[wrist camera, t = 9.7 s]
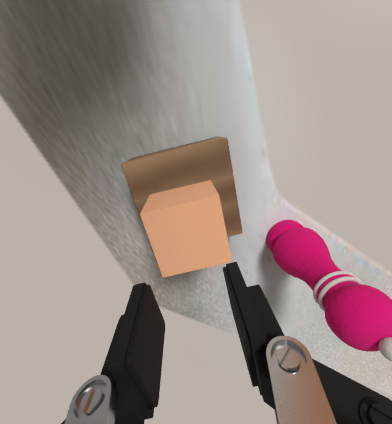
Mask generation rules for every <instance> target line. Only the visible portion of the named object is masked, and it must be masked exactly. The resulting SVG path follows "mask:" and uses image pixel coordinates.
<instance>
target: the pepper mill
mask: <svg viewBox="0 0 392 424" xmlns="http://www.w3.org/2000/svg"><path fill="white" fill-rule="evenodd" d="M267 244H268V246H269V248H270V249H271V251H272V252H273V256H274V259H275V261H276V263H277V264H278V265H279V266H280V267H281V268H282V269H283V270H284V271H285V272H287V273H288V274H290V275H292V276H294V277H297V278H299V279H301V280H303V281H304V282H306V283H307V284H308V285H309V286H310V287H311V289H312V290H313V297H314V299H315V301H316V302H317V303H318V304H319V306H320V308H321V309H322V310H323V311H325V318H326V321H327V324H328V325H329V327H330V329H331V330H332V331H333V332H334V334H335V335H336V336H337V337H338V338H339V339H340V340H342V341H343V342H344V343H346V344H347V345H349V346H351V347H353V348H355V349H359V350H362V351H379V350H380V352H381V353H382V355H383V356H384V357H385V358H387V359H388V360H390V361H392V300H391V299H390V298H389V297H388V296H387V295H386V294H384V293H383V292H381V291H380V290H378V289H376V288H373V287H371V286H367V285H364V284H363V282H362V281H361V280H359V279H358V278H356V276H355V275H354V274H352V273H350V272H347V271H342V270H340V269H339V268H338V267H337V266H336V265H335V264H334V262H333V261H332V259H331V256H330V253H329V250H328V247H327V245H326V244H325V242H324V240H323V239H322V238H321V237H320V236H319V235H318V234H317V233H316V232H315V231H313V230H311V229H309V228H304V227H303V226H302V225H301V224H299V223H298V222H296V221H293V220H284V221H281V222H278V223H277V224H275V225H274V226H273V227H272V228H271V229H270V231H269V232H268V235H267Z"/></svg>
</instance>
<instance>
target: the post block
mask: <svg viewBox="0 0 392 424" xmlns="http://www.w3.org/2000/svg"><path fill="white" fill-rule="evenodd" d="M121 166H122V168H123V171H124V174H125V177H126V179H127V182H128V185H129V187H130V190H131V193H132V196H133V198H134V201H135V204H136V207H137V209H138V212H139V215H140V213H141V211H142V209H143V207H144V205H145V203H146V201H147V199H148V197H149V195H150V194H154V193H158V192H163V191H167V190H171V189H175V188H179V187H183V186H187V185H192V184H196V183H200V182H204V181H208V180H211V182H212V183H213V185H214V187H215V189H216V190H217V192H218V194H219V197H220V202H221V207H222V212H223V217H224V222H225V227H226V232H227V237H228V236H233V235H237V234H241V233H242V226H241V220H240V214H239V208H238V202H237V196H236V189H235V183H234V177H233V171H232V165H231V159H230V152H229V146H228V140H227V138H224V137H214V138H210V139H206V140H202V141H198V142H194V143H190V144H186V145H182V146H178V147H174V148H170V149H166V150H162V151H158V152H154V153H150V154H146V155H142V156H138V157H133V158H132V159H130V160H128V161H126V162H124V163H122V164H121ZM140 218H141V216H140ZM141 220H142V219H141ZM142 223H143V221H142ZM143 226H144V224H143ZM144 229H145V227H144ZM145 231H146V230H145ZM146 234H147V232H146ZM147 237H148V235H147ZM148 239H149V238H148ZM149 242H150V241H149ZM150 245H151V243H150ZM151 248H152V246H151ZM152 250H153V249H152ZM153 253H154V252H153Z"/></svg>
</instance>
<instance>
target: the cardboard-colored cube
mask: <svg viewBox="0 0 392 424" xmlns="http://www.w3.org/2000/svg"><path fill="white" fill-rule="evenodd" d="M140 216H141V219H142V221H143V224H144V227H145V230H146V232H147V235H148V238H149V241H150V243H151V246H152V249H153V252H154V255H155V257H156V260H157V263H158V266H159V268H160V271H161V274H162V277H163V278H164V277H168V276H173V275H177V274H181V273H186V272H190V271H195V270H199V269H203V268H208V267H212V266H217V265H221V264H225V263H230V262H232V258H231V253H230V248H229V243H228V238H227V232H226V227H225V222H224V217H223V212H222V207H221V202H220V197H219V194H218V192H217V190H216V189H215V187H214V185H213V183H212V182H211V180H208V181H204V182H200V183H196V184H192V185H187V186H183V187H179V188H175V189H171V190H167V191H163V192H158V193H154V194H150V195H149V197H148V199H147V201H146V203H145V205H144V207H143V209H142V211H141V213H140Z"/></svg>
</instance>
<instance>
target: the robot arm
mask: <svg viewBox="0 0 392 424" xmlns="http://www.w3.org/2000/svg"><path fill="white" fill-rule="evenodd" d="M223 272H224V276H225V281H226V285H227V290H228V294H229V299H230V304H231V308H232V312H233V316H234V319H235V323H236V327H237V330H238V334H239V338H240V341H241V345H242V349H243V352H244V355H245V360H246V363H247V367H248V371H249V374H250V378H251V381H252V385H253V387H254V386H258V387H259V391H260V394H261V395H262V396H263V400H264V402H265V403H267V404H268V405H269V406H271V407H272V408H273V409H275V415H276V420H277V424H392V401H391V400H390V399H388V398H386V397H384V396H382V395H380V394H379V393H377V392H375V391H373V390H371V389H369V388H367V387H365V386H363V385H361V384H359V383H358V382H356V381H354V380H352V379H350V378H348V377H346V376H344V375H342V374H340V373H338V372H337V371H335V370H333V369H331V368H329V367H327V366H325V365H323V364H321V363H319V362H317V361H316V360H314V359H312V358H311V355H310V353H309V351H308V350H307V348H306V347H305V346H304V345H303V344H302V343H301V342H300V341H298V340H297V339H295V338H292V337H289V336H284V334H283V332H282V330H281V328H280V326H279V324H278V322H277V320H276V318H275V316H274V314H273V312H272V310H271V308H270V306H269V304H268V302H267V299H266V297H265V295H264V293H263V291H262V289H261V287H260V286H259V285H255V286H250V287H246V284H245V282H244V279H243V277H242V274H241V272H240V269H239V267H238V264H237V262H233V263H229V264H226V267H224V268H223ZM164 334H165V322H164V319H163V316H162V314H161V311H160V309H159V306H158V304H157V301H156V299H155V296H154V294H153V291H152V289H151V287H150V285H146V283H141V284H137V285H134V286H133V289H132V292H131V295H130V298H129V301H128V304H127V307H126V311H125V314H124V315H122V316H121V317H120V319H119V321H118V324H117V327H116V330H115V333H114V336H113V340H112V342H111V345H110V348H109V351H108V354H107V357H106V360H105V363H104V366H103V369H102V372H101V375H97V376H94V377H92V378H91V379H89V380H88V381H86V382H85V383H84V384H83V385H82V386H81V387H80V388H79V390H78V391H77V392H76V394H75V395H74V397H73V399H72V401H71V404H70V407H69V410H68V414H67V417H66V419H65V421H63V422H62V423H61V424H144V420H145V419H149V418H153V413H154V407H157V405H158V400H159V390H160V378H161V367H162V356H163V344H164Z"/></svg>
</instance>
